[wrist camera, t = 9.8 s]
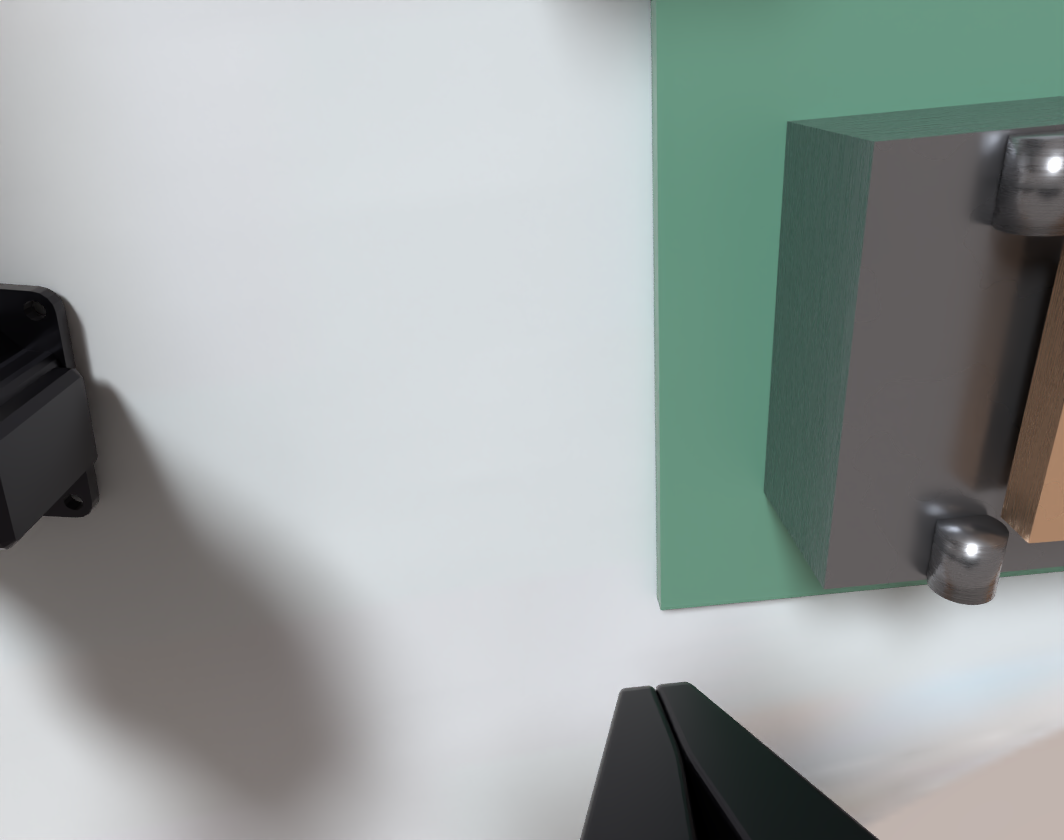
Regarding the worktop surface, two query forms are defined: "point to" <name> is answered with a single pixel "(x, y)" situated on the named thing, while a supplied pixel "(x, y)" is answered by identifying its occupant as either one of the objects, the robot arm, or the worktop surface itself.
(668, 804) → the robot arm
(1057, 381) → the brown rectangular board
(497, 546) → the worktop surface
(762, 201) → the board
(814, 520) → the grey open box
